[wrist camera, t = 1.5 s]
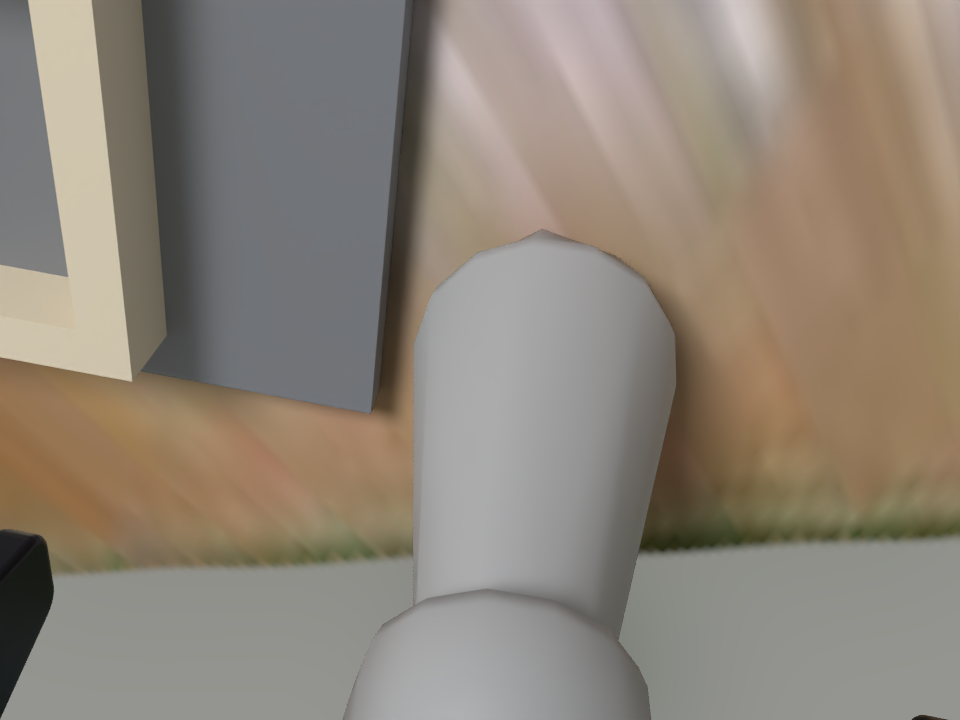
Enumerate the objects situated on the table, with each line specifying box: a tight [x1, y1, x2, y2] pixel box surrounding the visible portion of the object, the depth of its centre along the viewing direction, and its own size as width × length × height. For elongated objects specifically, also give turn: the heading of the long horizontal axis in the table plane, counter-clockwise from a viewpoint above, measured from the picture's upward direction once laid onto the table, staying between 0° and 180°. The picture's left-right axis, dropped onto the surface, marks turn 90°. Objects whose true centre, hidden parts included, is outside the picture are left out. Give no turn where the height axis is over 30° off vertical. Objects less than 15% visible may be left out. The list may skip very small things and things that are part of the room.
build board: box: [0, 0, 414, 414], centre depth 20 cm, size 16×13×3 cm
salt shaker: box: [343, 229, 676, 720], centre depth 17 cm, size 6×6×13 cm
